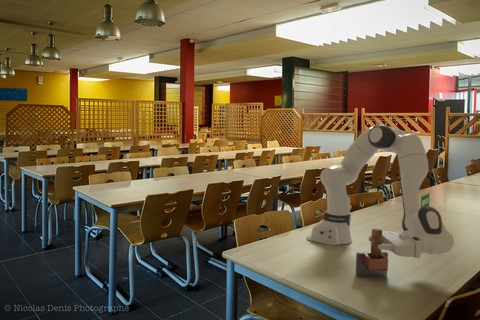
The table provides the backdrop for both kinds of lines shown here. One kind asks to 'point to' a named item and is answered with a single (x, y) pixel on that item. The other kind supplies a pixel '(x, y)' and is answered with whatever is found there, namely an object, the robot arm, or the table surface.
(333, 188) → the robot arm
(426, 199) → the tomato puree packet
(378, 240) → the brown cylinder
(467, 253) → the table surface
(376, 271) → the drawer
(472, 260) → the table surface
